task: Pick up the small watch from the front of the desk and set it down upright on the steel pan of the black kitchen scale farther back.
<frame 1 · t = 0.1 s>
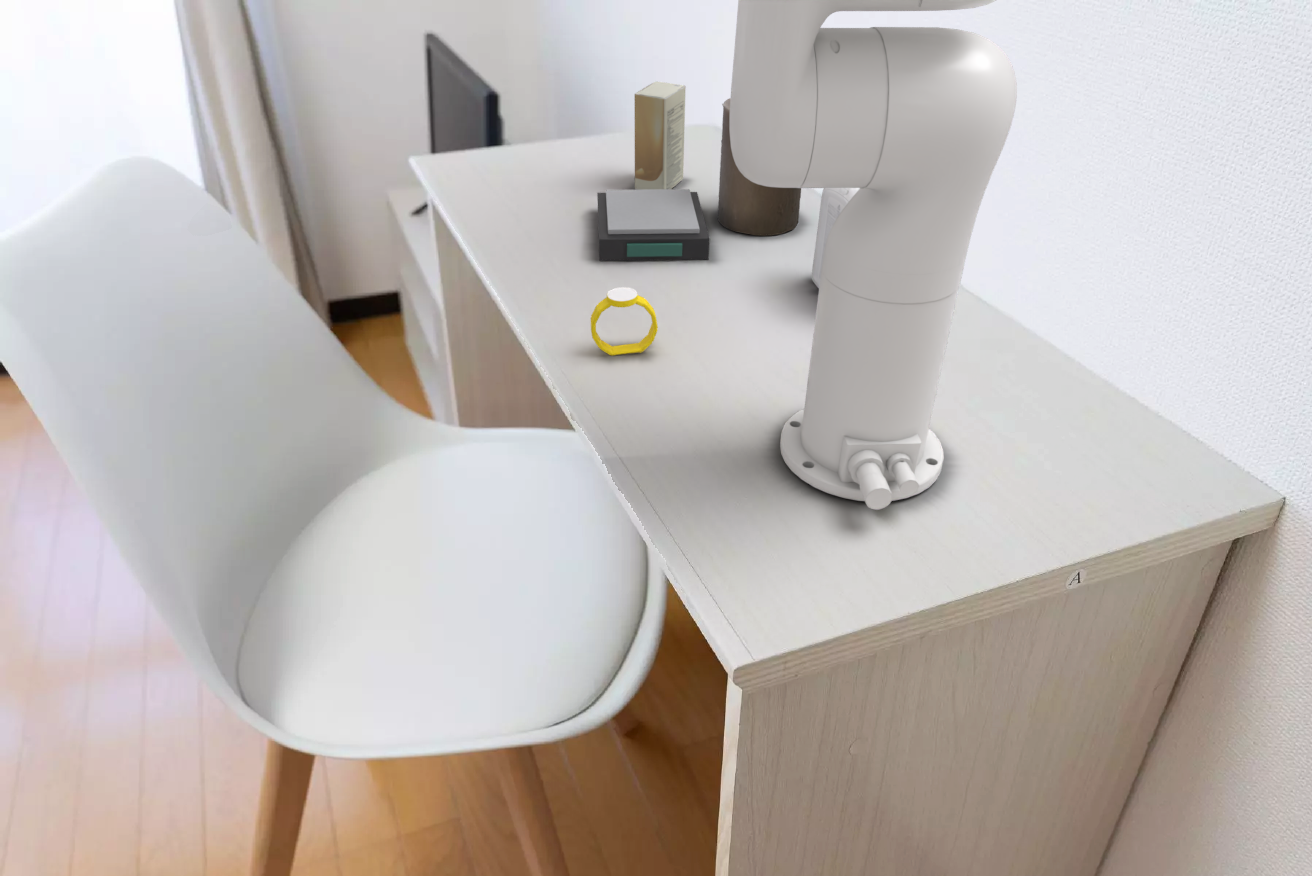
cosmetic box: (658, 186, 125), on the table
photo printer: (845, 301, 99), on the table
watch: (624, 353, 89), on the table
scale: (650, 234, 111), on the table
pillar candle: (756, 222, 116), on the table
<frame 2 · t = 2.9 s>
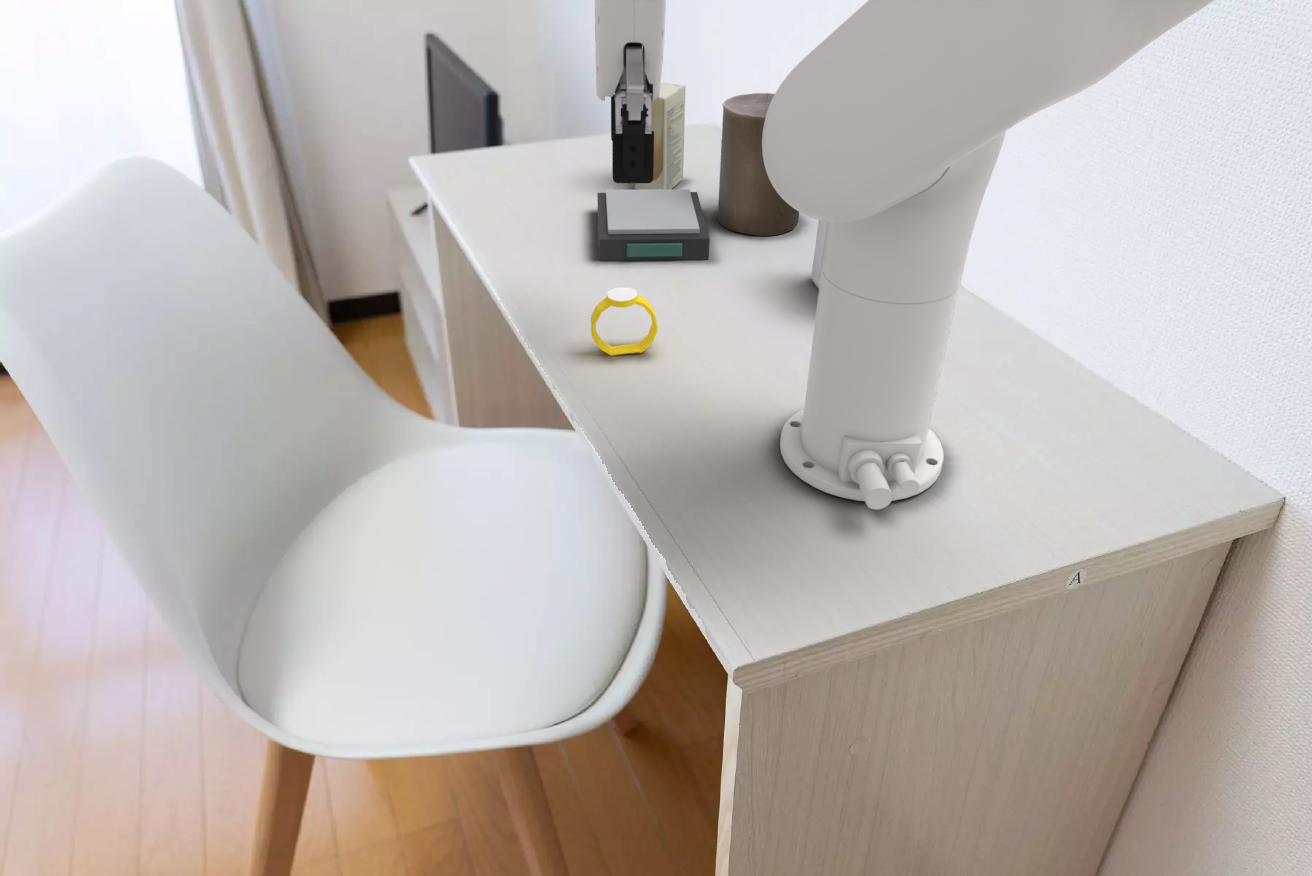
hand: (631, 160, 80), 17 cm above the table, tool pointing down, fingers open, 9 cm apart
nothing on the table moved.
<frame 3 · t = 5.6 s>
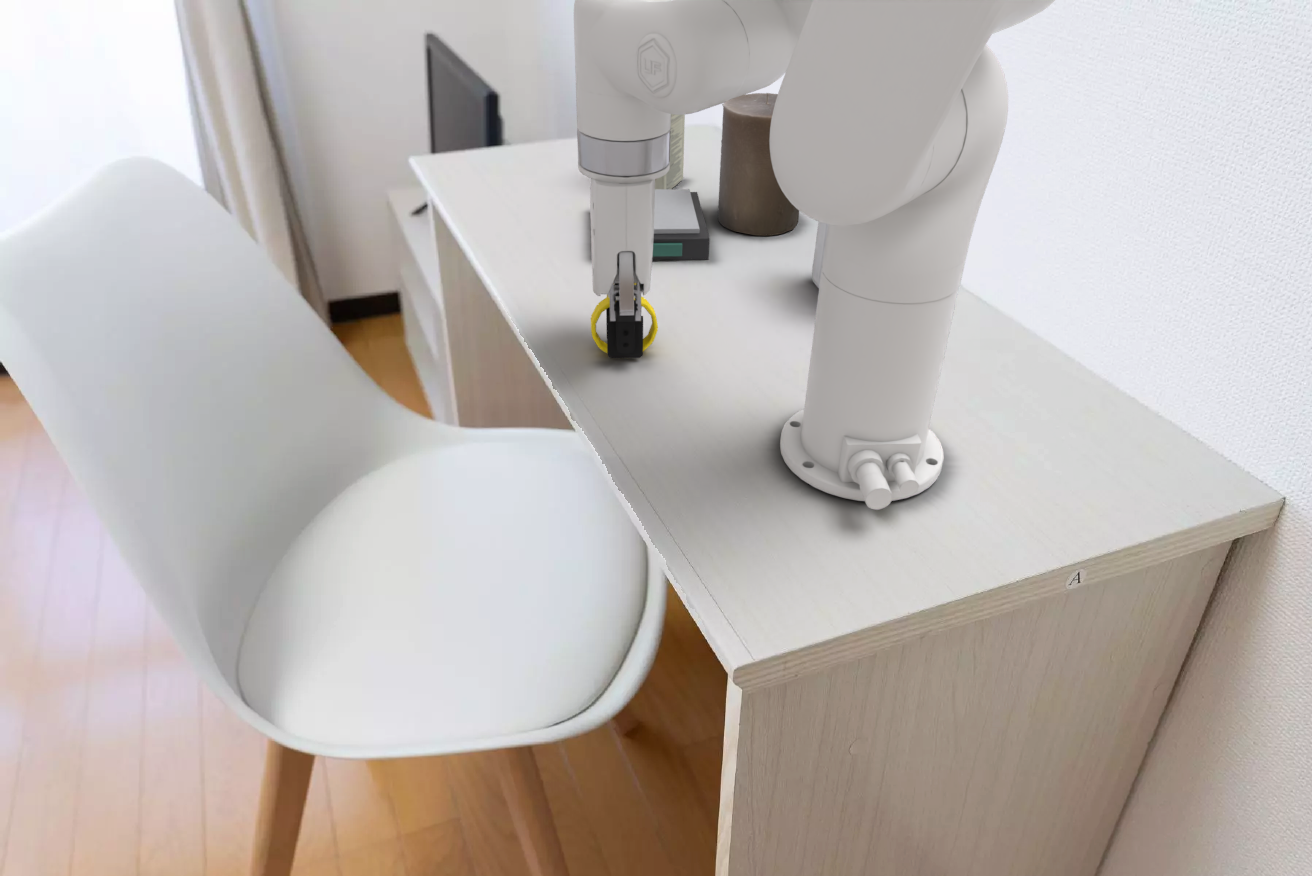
hand: (624, 346, 89), 1 cm above the table, tool pointing down, fingers closed on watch, 2 cm apart
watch: (624, 353, 89), on the table, touching gripper
everything else where it was.
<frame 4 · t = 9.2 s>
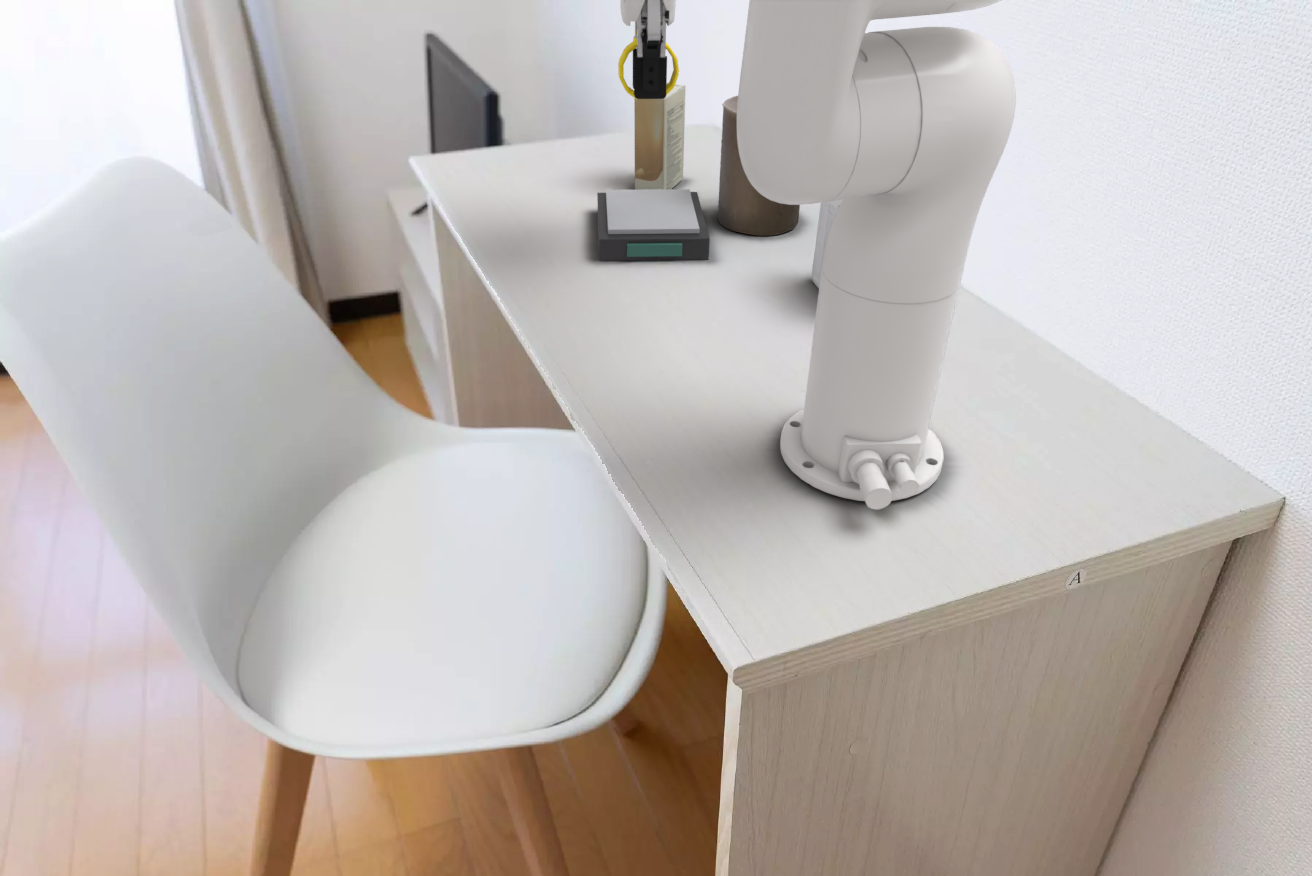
hand: (649, 92, 98), 17 cm above the table, tool pointing down, fingers closed on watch
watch: (648, 99, 99), point 16 cm above the table, touching gripper
everything else where it was.
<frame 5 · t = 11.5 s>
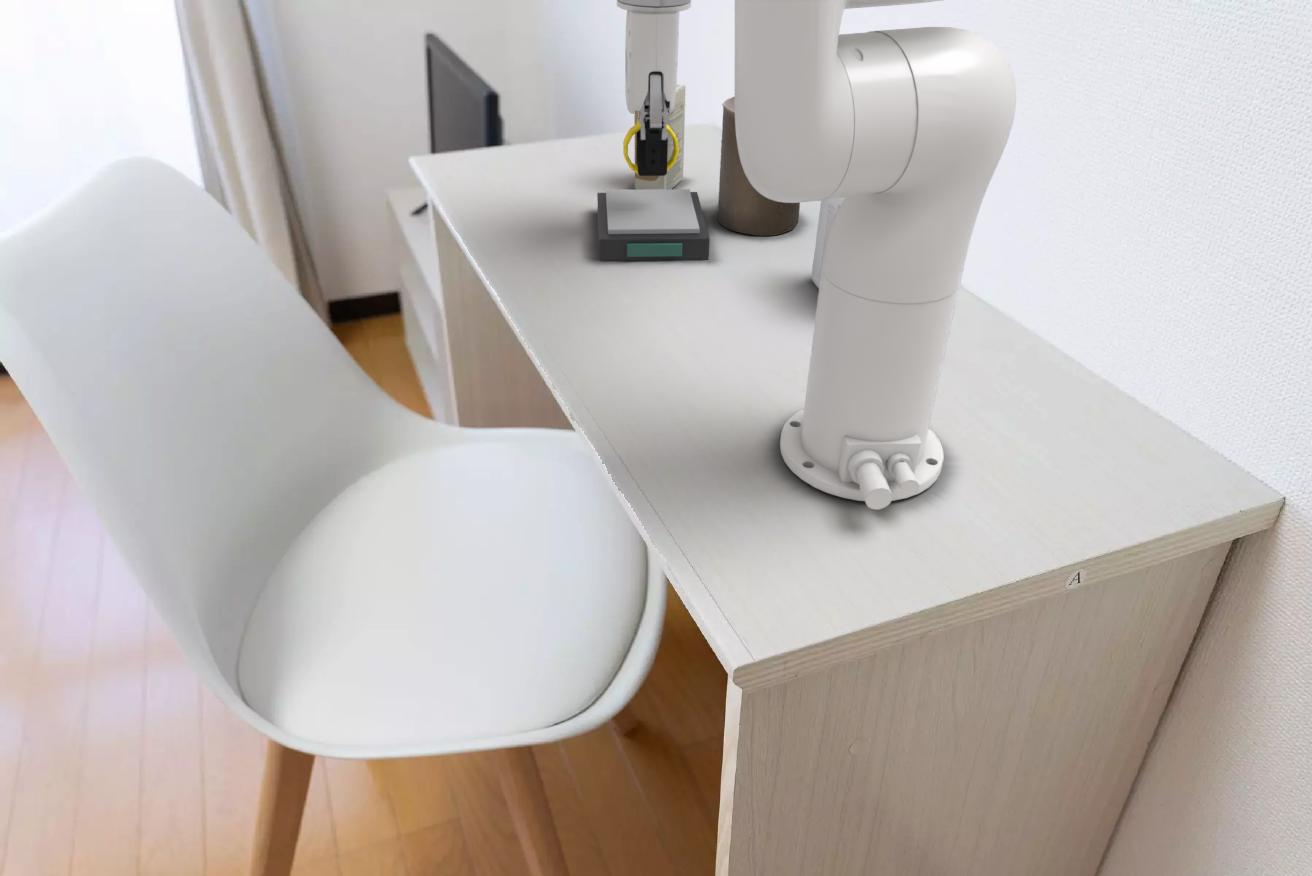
hand: (651, 168, 107), 8 cm above the table, tool pointing down, fingers closed on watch
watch: (650, 174, 107), point 7 cm above the table, touching gripper
everything else where it was.
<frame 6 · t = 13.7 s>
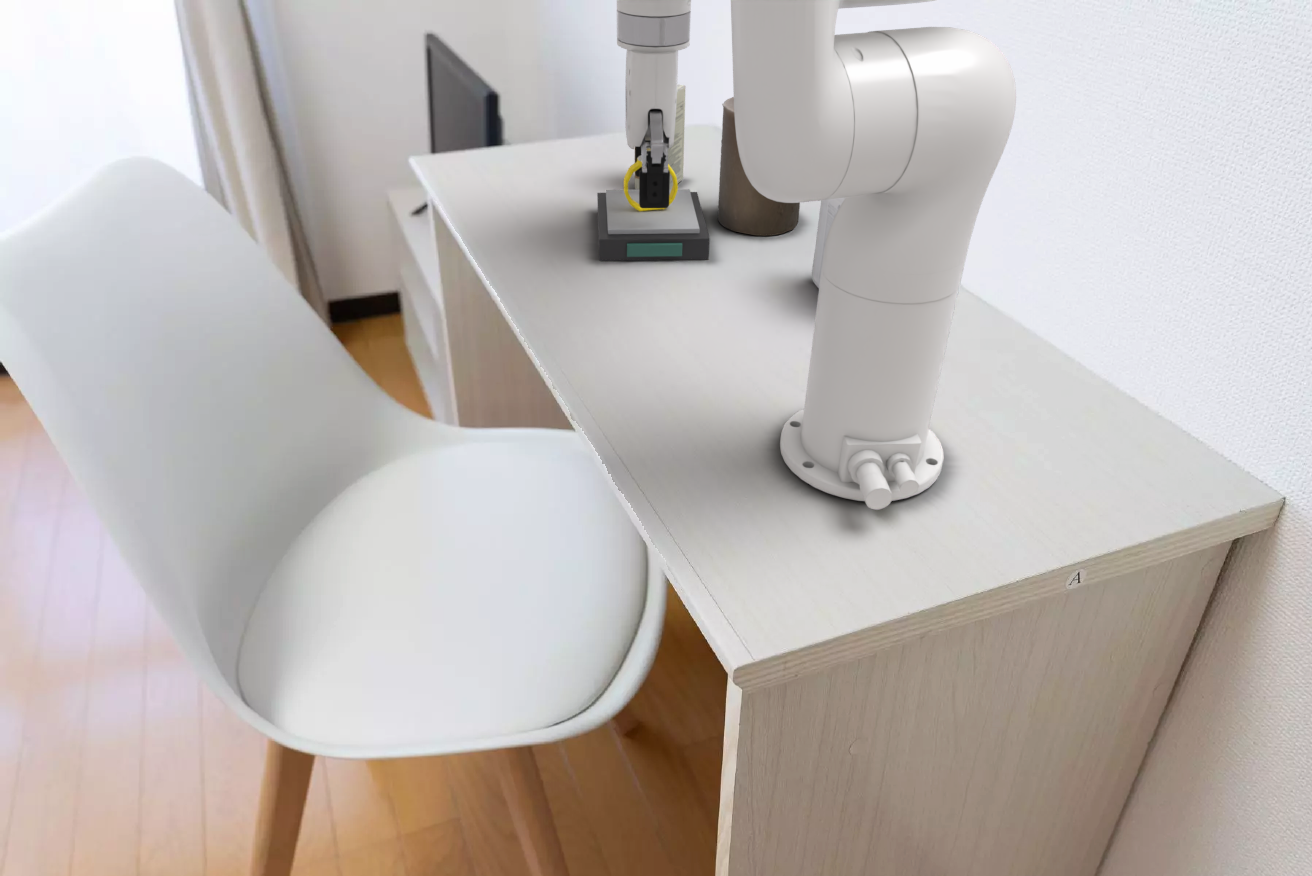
hand: (651, 191, 108), 5 cm above the table, tool pointing down, fingers open, 9 cm apart
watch: (650, 210, 110), point 3 cm above the table, touching scale
everything else where it was.
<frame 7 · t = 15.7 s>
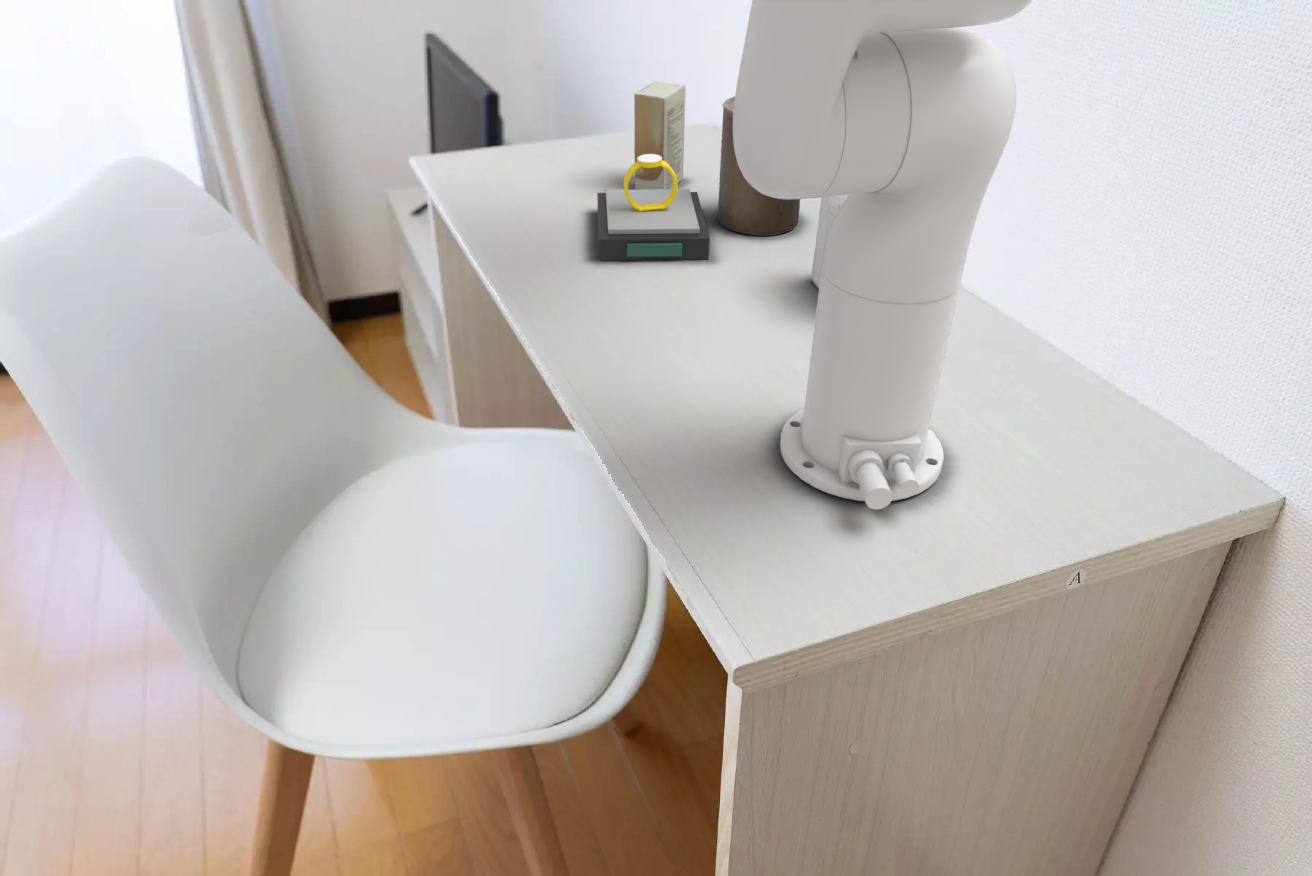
nothing on the table moved.
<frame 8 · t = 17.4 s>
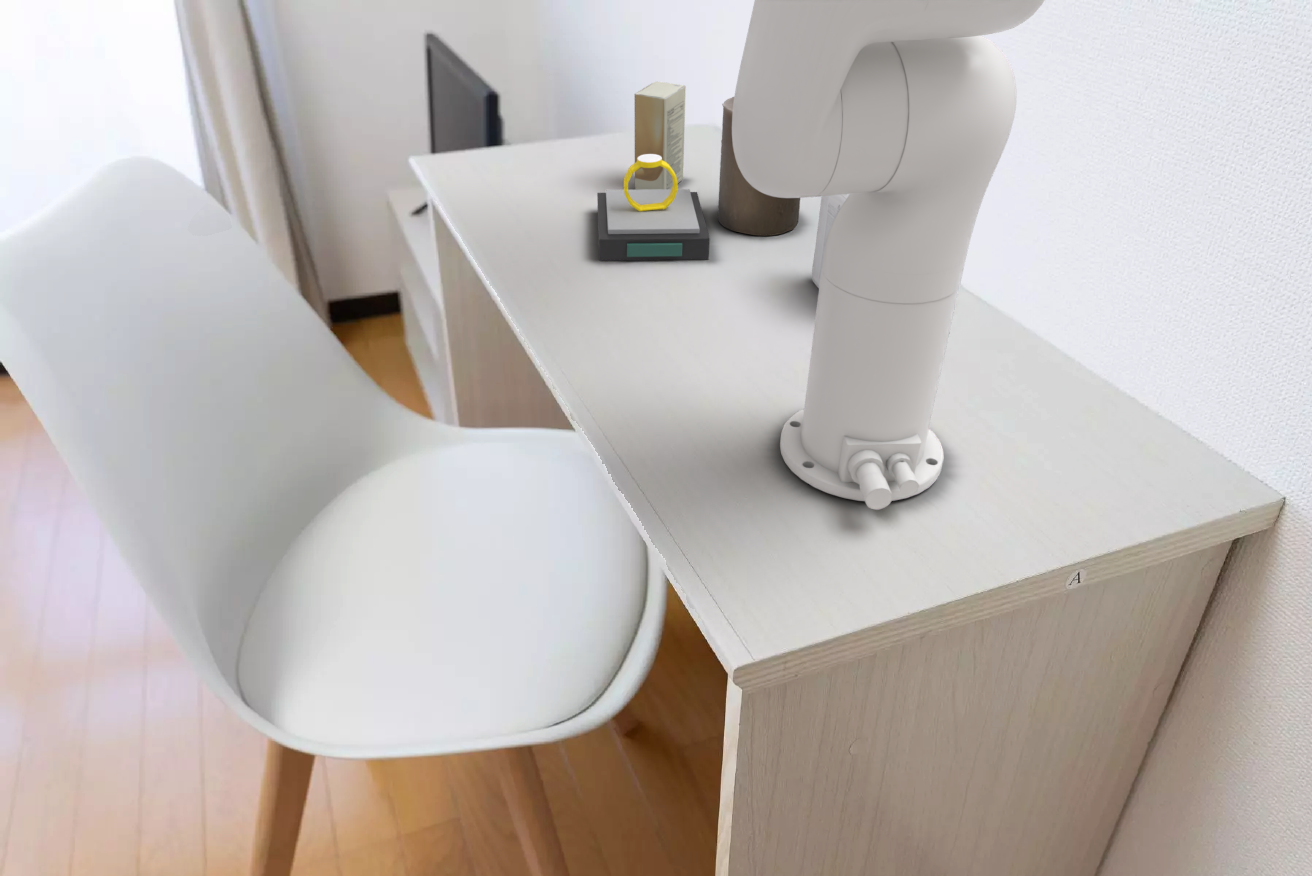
nothing on the table moved.
at the end: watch inside the target area on the scale (0.2 cm from its centre), point 2.9 cm above the scale's base; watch tilted 0°; the gripper is holding nothing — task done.
